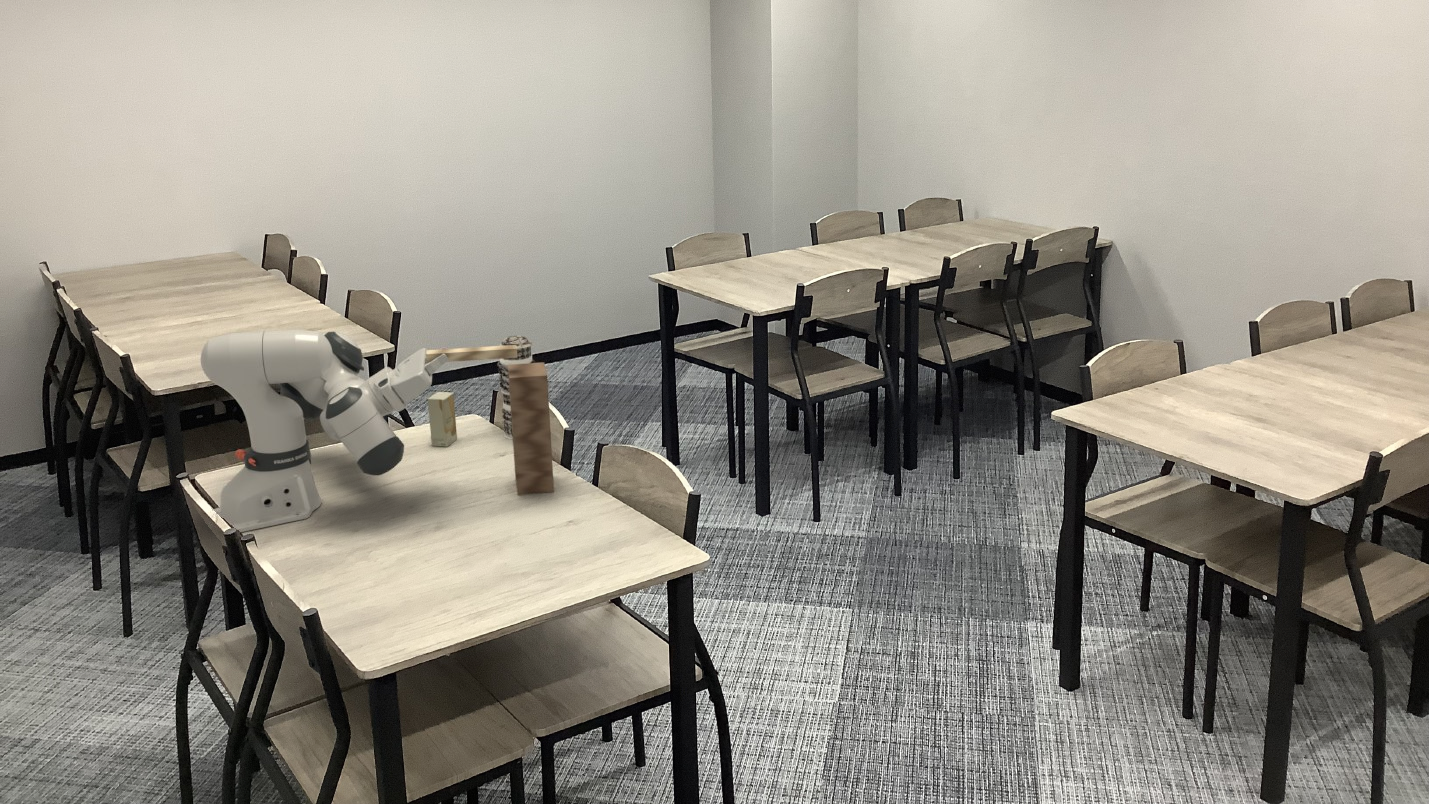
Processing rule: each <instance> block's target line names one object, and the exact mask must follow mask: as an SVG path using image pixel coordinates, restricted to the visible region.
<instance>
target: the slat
mask: <svg viewBox="0 0 1429 804" xmlns="http://www.w3.org/2000/svg"><path fill="white" fill-rule="evenodd" d="M442 353H445V354H446V355H447V356H448V362H447V363H449V362H450V363H454V362H467V361H469V362H470V361H484V360H486V361H487V360H498V359H499V360H500V359H502V358H518V357H517V346H516V345H506V346H499V345H493V346H492V345H490V346H473V347H462V348H461V347H458V348H446V349H441V348H440V349H427V351H426V357H427V363H429V362H431V361H433V360H434V359H436V358H437V356H439V355H441V354H442Z"/></svg>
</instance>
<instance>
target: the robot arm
mask: <svg viewBox="0 0 1429 804" xmlns="http://www.w3.org/2000/svg"><path fill="white" fill-rule="evenodd" d="M440 349H447V348H446V347H444V346H443V347H441V348H440ZM427 350H428V349H427V348H425V347H423V348H420V349H418V350H416V352H414V353H412V354H411V355H410V356H408V357H406V358H405V359H404V360H402V361H400V363H399V364H398V365H397V366H396V367H395V368H394V369H392V368H391V367H389V366H385V367H384V368H382V369H381V370H379V371H378V372H377V373H375V374H373V375H372V376H370V377H369V378H366V380H365V379H363V378H361V377H359V374H360V371H361V372H362V371H364V370H365V367H364V366H363V359H364V357H363V351H362V349H361V348H360V347H359V345H358V343H357V342H356V341H355V340H354V339H353V338H351V336H349V335H346V334H344V333H341V332H337V331H328V332H326V333H325V334H323V332H321V331H315V330H309V329H308V330H306V329H297V328H295V329H294V328H293V329H292V328H291V329H279V330H277V329H276V330H259V331H244V332H243V331H242V332H230V333H227V334H222V335H219V336H215V337H211V338H209V339H208V340H207V341H206V343H205V344H204V346H203V347H202V350H201V353H200V365H201V368H202V369H201V370H202V371H203V373H204V374H205V376H206V377H207V378H208V380H209V381H210V382H211V383H213V384H215V385H216V386H219V387H221V388H222V389H224V390H225V391H226V392H228V393H229V394H230V395H231V397H233V398H234V400H235V401H236V402H237V403H238V405H239V406H240V408H241V409H242V411H243V415H244V416H245V420H246V424H247V427H248V433H249V438H250V445H251V446H250V448H249V449H248V450H247V452H246V450H243V449H241V448H240V449H237V450H236V452H235V458H237V459H238V460H240V461H243V463H244V467H242V468H241V470H239V472H238V473H236V474H235V476H233V478H231V479H230V481H228V482H227V483H226V485H224V486H223V488H222V490H221V493H220V507H219V506H218V507H217V508H214V509H213V510H214V511H215V512H216V513H217V514H219V516H221V517H222V518H224V519H225V520H226V521H227V522H228V523H229V524H230V525H232V526H233V527H234V528H236V529H237V530H239V531H240V532H239V533H243V532H248V531H254V530H257V529H263V528H267V527H271V526H277V525H281V524H287V523H291V522H296V521H300V520H305V519H307V518H309V517H310V516H311V515H312V513H313V512H314V511H315V510H316V509H318V508H319V507H320V506H321V505H322V504H323V498H322V497H321V495H320V492H319V491H318V488H317V484H316V482H315V478H314V474H313V470H312V466H311V464H312V453H311V452H312V451H311V447H310V443H309V440H308V439H307V436H306V427H305V421H304V420H308V421H316V420H317V419H319V420H320V421H319V422H320V425H321V427H322V429H323V431H324V432H325V434H327V436H328V437H329V438H331V440H334V441H336V442H341V443H342V445H343V446H344V447H345V449H346V450H347V451H348V452H349V454H350V455H351V456H352V458H353V459H354V460H355V462H356V464H357V465H358V467H359V468H360V470H361V472H362V473H363V474H367V475H370V476H382V475H384V474H386V473H388V472H390V471H391V470H393V469H395V468H396V466H398V464H400V462H401V461H402V460H403V457H404V454H405V444H404V443H403V441H402V440H401V439H400V438H399V436H397V434H396V433H395V431H394V430H393V429H392V428H391V426H390V425H389V424H388V422H387V421H386V419H385V418H384V417H385V416H387V415H391V414H392V413H394V412H397V413H399V412H401V411H403V410H404V409H405V408H406V407H407V404H409V403H410V402H412V401H413V400H415V399H416V398H418V397H419V396H420V395H421V394H423V393H424V392H425V391H427V390H428V389H429V388H430V387H431V385H433V384H432V383H433V373H436V371H437V370H439V369H440V368H441V367H442V366H443V365H445V364H446V363H449V362H448V356H447V355H446V354H445V353H442V354H441V355H439V356H437V358H436V359H434V360H433V361H431V362H429V363H427V357H426V351H427ZM272 384H273V385H274V384H278V386H279V388H280V394H279V393H278V392H276V391H275V390H274V389H273V388H272V387H271V385H272Z"/></svg>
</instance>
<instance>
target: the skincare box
mask: <svg viewBox="0 0 1429 804" xmlns="http://www.w3.org/2000/svg"><path fill="white" fill-rule="evenodd" d="M454 396H455V395H454V392H447V391H437V392H436V393H434V394H432V395H431V396H429V398H427V403H428V405H427V406H428V415H429V417H428V418H429V429H430V439H431V440H430V441H431V446H434V447H445V448H446V447H448V446H450V445H452V444H453V443H454V442H455V441H456V440H458V434H457V433H458V432H457V423H456V422H457V421H456V420H457V419H456V412H455V411H456V410H455V409H456V407H455V397H454Z"/></svg>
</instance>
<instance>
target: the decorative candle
mask: <svg viewBox="0 0 1429 804" xmlns="http://www.w3.org/2000/svg"><path fill="white" fill-rule="evenodd" d="M532 344H533V342H531V341H530V340H528V338H527V337H526V336H523V335H522V336H521V335H511V336H505V338H503V339H502V341H501V342H500V343H499V344H498V346H506V345H516V346H517V357H518V358H502V359H499V360H498V361H497V364H496V365H497V367H498V369H497V371H498V374H499V377H498V379H499V387H500V388H501V389H500V392H501V394H502V400H503V401H502V410H501V411H502V414H503V415H502V419H504V420H503V421H502V424H503V427H502V428H503V431H504V433H503V436H504V437H505V439H507V440H511V441H513V436H512V421H511V406H510V392H509V377H508V365H512V364H527V363H536V360H535V359H534V358H533V354H532V348H531V346H533V345H532Z"/></svg>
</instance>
